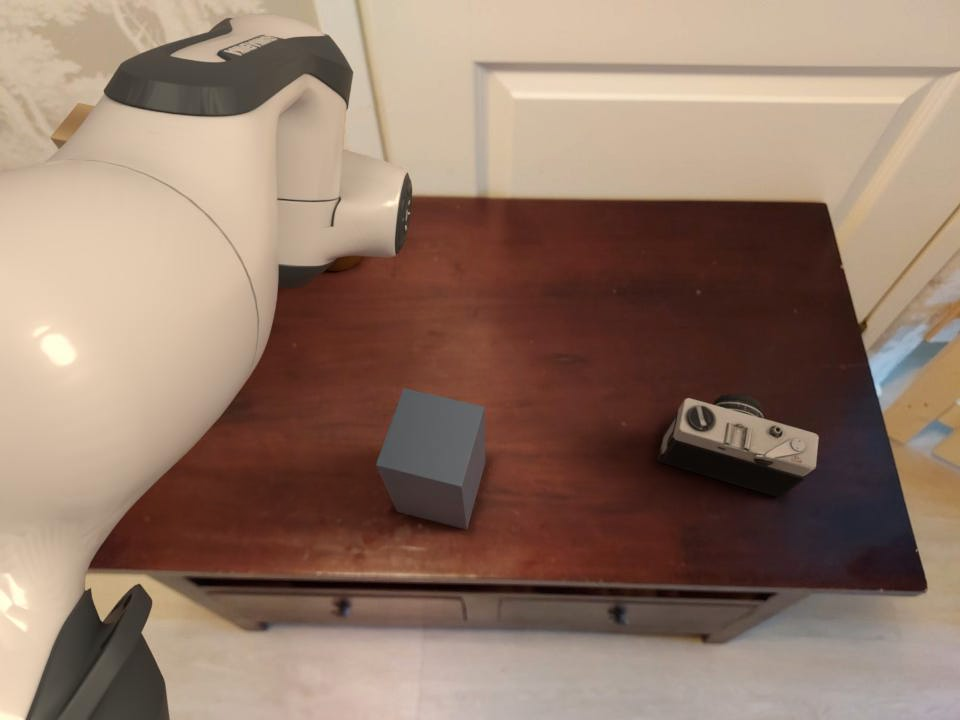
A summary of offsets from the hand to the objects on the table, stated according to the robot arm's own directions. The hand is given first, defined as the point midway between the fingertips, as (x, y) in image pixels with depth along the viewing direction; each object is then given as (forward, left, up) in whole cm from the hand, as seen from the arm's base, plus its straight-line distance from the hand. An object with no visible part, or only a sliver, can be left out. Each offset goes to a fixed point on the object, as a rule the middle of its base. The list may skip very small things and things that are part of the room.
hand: (99, 154), depth 60 cm
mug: (+12, -12, -28) cm, 33 cm away
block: (0, -1, -4) cm, 4 cm away
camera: (-2, -65, -28) cm, 71 cm away
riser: (-14, -35, -28) cm, 47 cm away
